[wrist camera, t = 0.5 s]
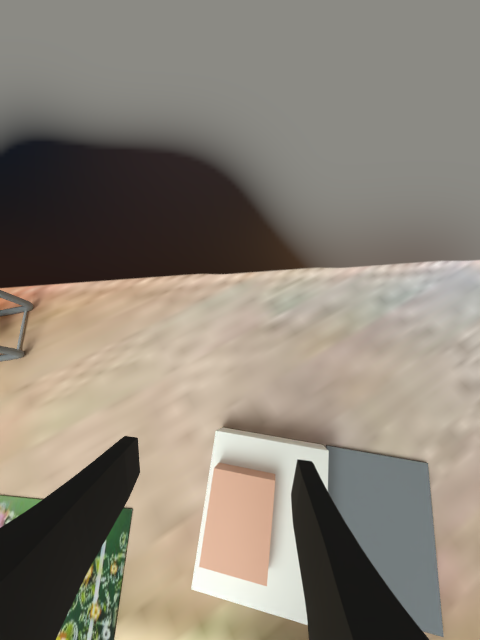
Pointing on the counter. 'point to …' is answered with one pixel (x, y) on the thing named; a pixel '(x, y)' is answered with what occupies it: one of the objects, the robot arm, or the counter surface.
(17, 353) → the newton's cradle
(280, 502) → the white platform
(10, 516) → the decorative card
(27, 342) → the counter surface
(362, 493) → the mat
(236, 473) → the tile
